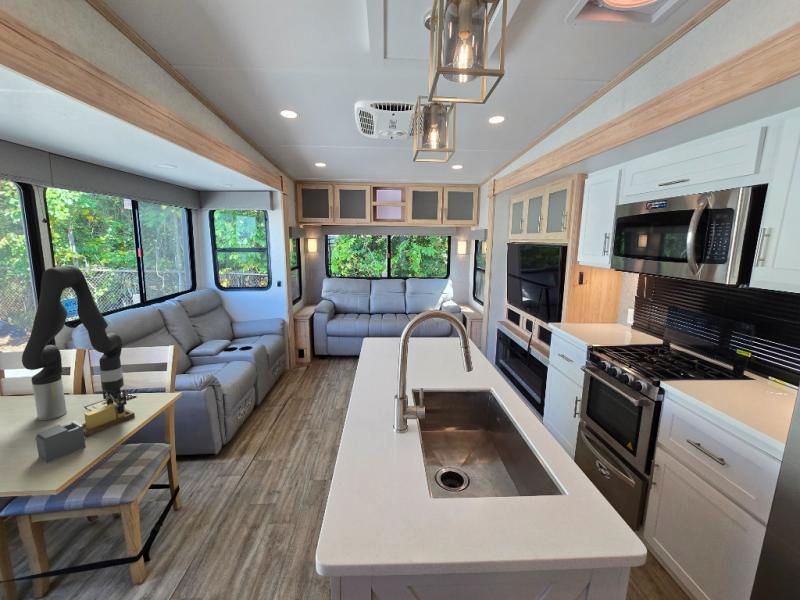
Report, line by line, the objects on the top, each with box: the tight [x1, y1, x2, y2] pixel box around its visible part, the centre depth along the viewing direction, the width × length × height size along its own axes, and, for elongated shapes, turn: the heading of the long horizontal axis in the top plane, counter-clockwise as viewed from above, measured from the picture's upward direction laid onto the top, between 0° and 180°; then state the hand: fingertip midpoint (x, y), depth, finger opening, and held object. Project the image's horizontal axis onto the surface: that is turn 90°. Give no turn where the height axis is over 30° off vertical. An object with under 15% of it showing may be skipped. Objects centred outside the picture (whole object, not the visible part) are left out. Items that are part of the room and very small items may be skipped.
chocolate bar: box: [84, 391, 137, 412], centre depth 166 cm, size 9×1×18 cm
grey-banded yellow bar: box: [83, 403, 126, 430], centre depth 147 cm, size 4×13×7 cm, turn 155°
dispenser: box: [34, 420, 87, 464], centre depth 127 cm, size 7×11×10 cm, turn 155°
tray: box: [76, 408, 136, 438], centre depth 147 cm, size 8×18×2 cm, turn 155°
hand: (116, 410), depth 150 cm, fingers open, 8 cm apart
